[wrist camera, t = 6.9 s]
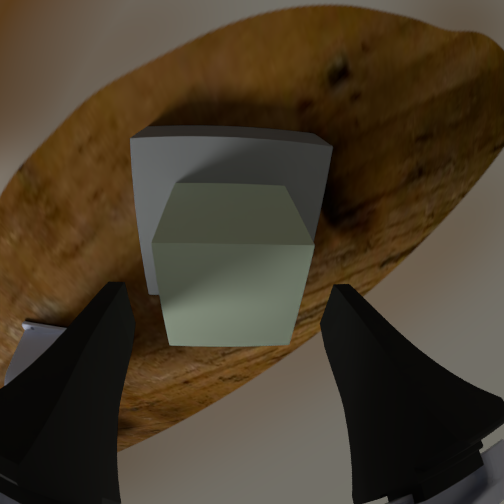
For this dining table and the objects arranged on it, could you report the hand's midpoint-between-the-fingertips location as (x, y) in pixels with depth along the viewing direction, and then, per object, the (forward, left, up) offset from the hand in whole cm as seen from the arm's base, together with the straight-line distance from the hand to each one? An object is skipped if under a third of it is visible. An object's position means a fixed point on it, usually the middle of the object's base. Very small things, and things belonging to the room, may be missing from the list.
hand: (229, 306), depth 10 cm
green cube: (0, 0, -5) cm, 5 cm away
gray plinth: (0, 0, -8) cm, 8 cm away
